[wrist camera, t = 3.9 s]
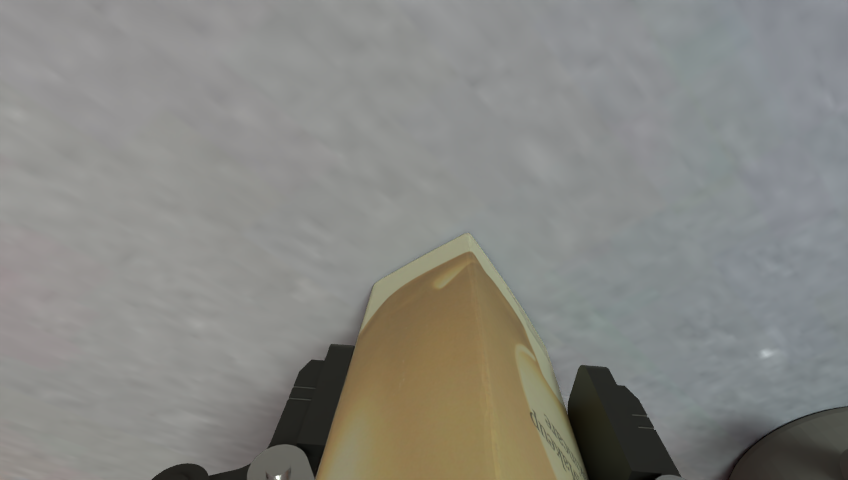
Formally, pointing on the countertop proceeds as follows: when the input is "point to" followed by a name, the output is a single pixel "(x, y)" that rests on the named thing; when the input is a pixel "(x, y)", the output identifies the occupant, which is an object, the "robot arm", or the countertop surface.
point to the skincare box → (449, 382)
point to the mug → (800, 451)
